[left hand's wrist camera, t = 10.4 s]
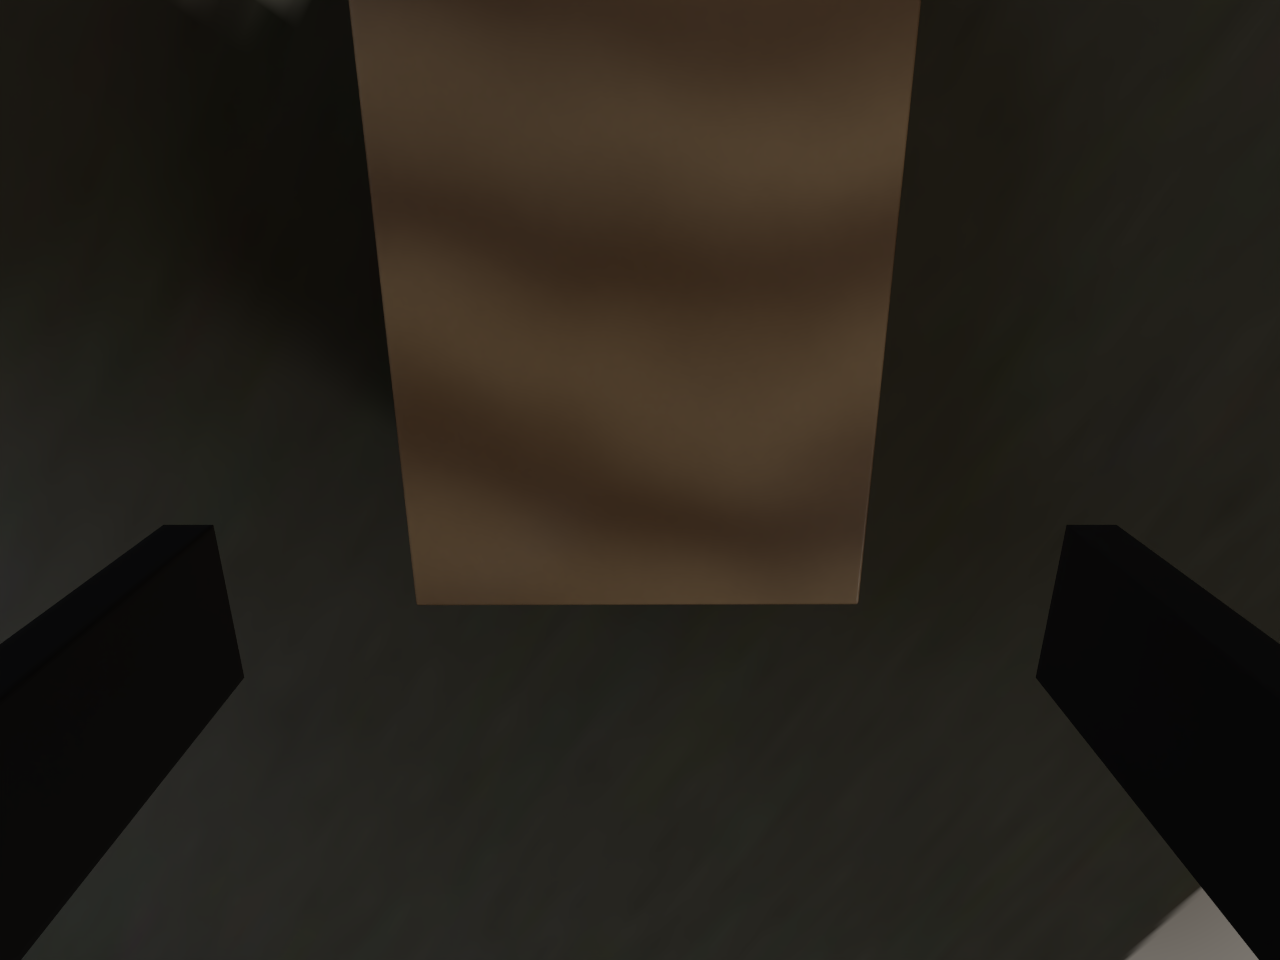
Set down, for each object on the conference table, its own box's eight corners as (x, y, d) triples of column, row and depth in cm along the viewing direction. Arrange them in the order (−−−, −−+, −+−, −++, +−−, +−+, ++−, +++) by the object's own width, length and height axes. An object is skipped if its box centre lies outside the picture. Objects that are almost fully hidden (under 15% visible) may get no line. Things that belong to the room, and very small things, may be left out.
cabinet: (434, -117, 22) (314, -291, 14) (837, -118, 22) (953, -292, 14) (480, 481, 29) (415, 606, 20) (795, 481, 29) (858, 605, 20)
